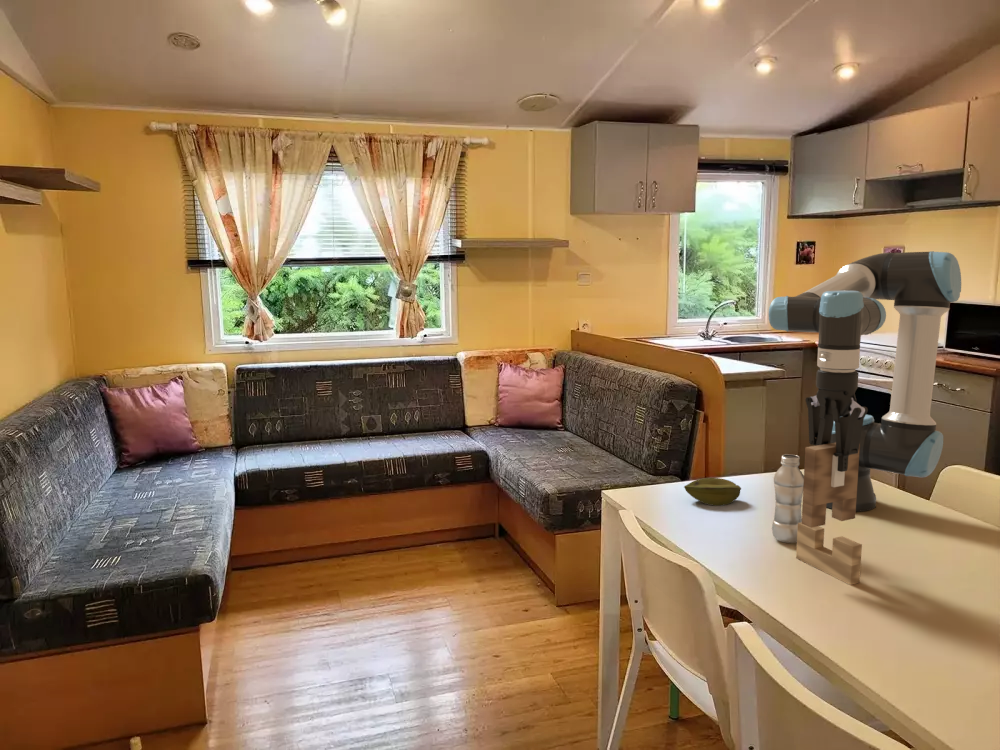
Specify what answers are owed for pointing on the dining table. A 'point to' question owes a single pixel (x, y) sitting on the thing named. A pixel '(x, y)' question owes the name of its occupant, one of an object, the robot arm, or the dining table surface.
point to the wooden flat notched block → (827, 486)
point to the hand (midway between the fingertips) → (830, 483)
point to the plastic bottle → (788, 499)
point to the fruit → (713, 491)
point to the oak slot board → (829, 554)
